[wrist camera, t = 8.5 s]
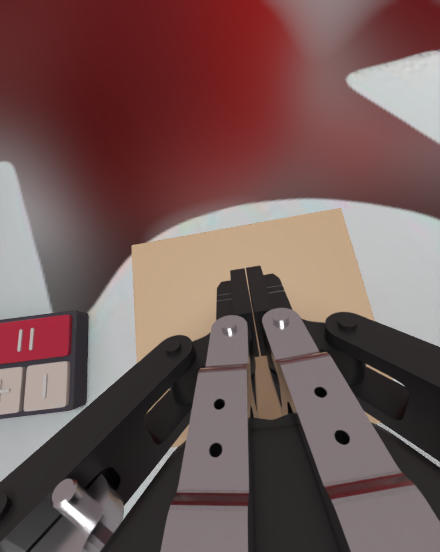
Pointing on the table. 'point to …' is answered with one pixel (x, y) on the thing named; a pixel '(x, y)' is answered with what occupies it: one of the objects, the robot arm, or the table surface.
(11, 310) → the table surface
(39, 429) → the table surface
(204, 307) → the lid
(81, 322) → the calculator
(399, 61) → the table surface
